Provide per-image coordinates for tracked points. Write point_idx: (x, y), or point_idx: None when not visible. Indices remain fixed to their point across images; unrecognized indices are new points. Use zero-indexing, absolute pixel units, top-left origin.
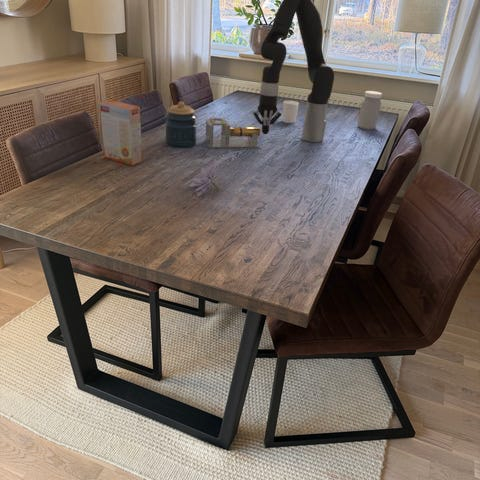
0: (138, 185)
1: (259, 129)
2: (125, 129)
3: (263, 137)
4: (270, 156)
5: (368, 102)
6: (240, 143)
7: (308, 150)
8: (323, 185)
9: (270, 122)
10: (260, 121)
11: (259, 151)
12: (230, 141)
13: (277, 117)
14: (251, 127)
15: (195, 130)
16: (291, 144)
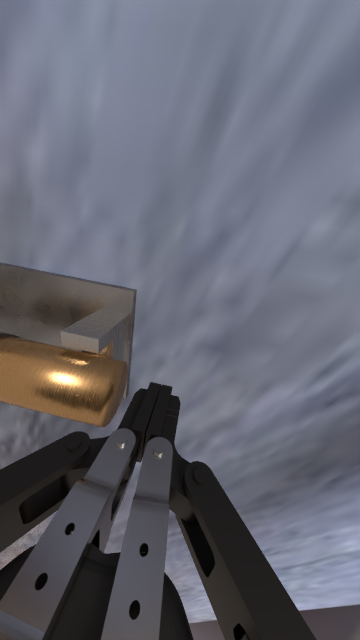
0: None
1: (99, 425)
2: None
3: (226, 255)
4: (138, 463)
5: None
6: (54, 345)
7: (328, 468)
8: (182, 586)
9: (171, 503)
10: (59, 496)
11: (117, 421)
12: (10, 309)
13: (242, 628)
14: (38, 404)
15: None
16: (312, 396)
